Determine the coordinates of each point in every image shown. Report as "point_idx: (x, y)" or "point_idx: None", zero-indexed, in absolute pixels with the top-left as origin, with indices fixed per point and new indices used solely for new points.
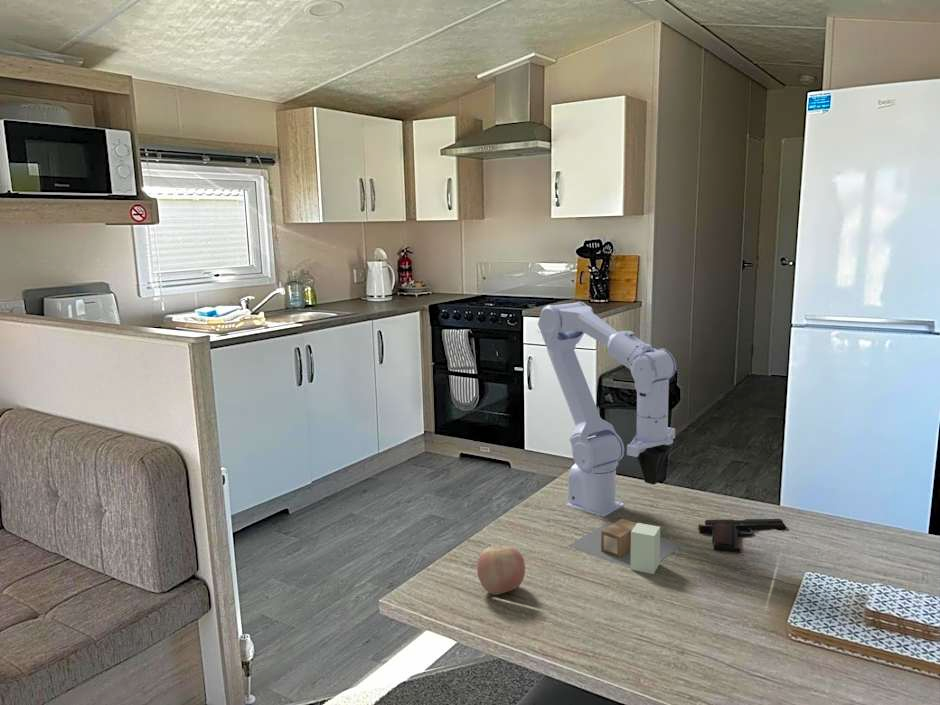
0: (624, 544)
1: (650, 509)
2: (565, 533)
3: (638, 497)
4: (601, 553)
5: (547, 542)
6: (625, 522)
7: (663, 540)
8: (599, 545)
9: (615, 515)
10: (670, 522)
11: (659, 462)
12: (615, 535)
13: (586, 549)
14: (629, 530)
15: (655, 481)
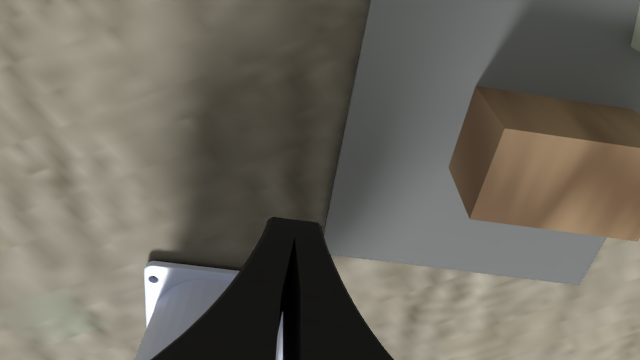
0: (628, 126)
1: (99, 173)
2: (470, 319)
3: (28, 246)
4: None
5: (556, 333)
6: (509, 192)
7: (391, 11)
8: None
9: (243, 254)
10: (164, 56)
11: (313, 339)
12: None
13: None
14: (600, 147)
15: (314, 231)
